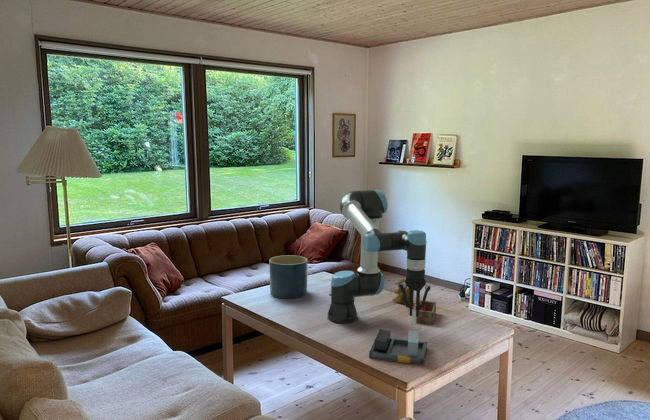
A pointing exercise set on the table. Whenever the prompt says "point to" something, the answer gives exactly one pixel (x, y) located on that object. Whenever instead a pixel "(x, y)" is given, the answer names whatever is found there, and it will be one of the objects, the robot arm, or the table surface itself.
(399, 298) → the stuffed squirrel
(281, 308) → the table surface
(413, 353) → the pale blue upright block
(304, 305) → the table surface
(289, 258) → the planter
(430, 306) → the open wooden box
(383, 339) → the grey flat rectangular tray
